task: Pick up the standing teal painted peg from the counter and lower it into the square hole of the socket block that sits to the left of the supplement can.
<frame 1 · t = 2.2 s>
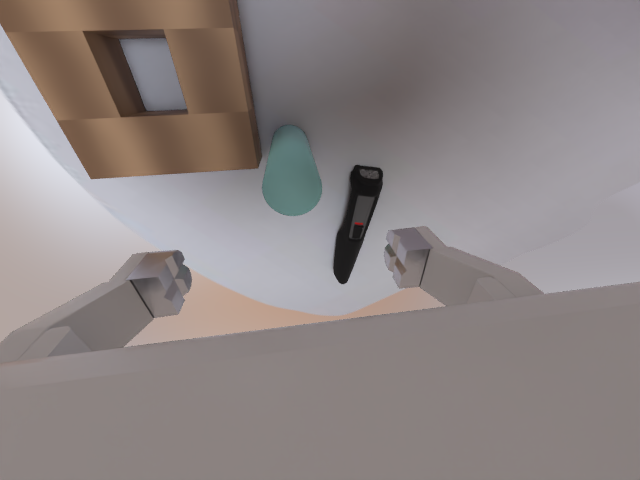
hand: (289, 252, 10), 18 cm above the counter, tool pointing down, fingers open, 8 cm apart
socket block: (164, 76, 20), on the counter
electric trimmer: (352, 222, 31), on the counter
peg: (290, 144, 25), on the counter
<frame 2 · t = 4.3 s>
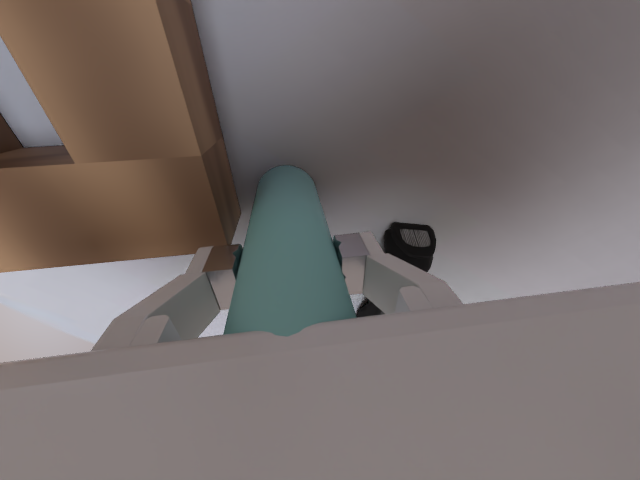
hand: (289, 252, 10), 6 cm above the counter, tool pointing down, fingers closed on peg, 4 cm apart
socket block: (45, 85, 11), on the counter
electric trimmer: (380, 293, 22), on the counter
peg: (287, 194, 15), on the counter, touching gripper
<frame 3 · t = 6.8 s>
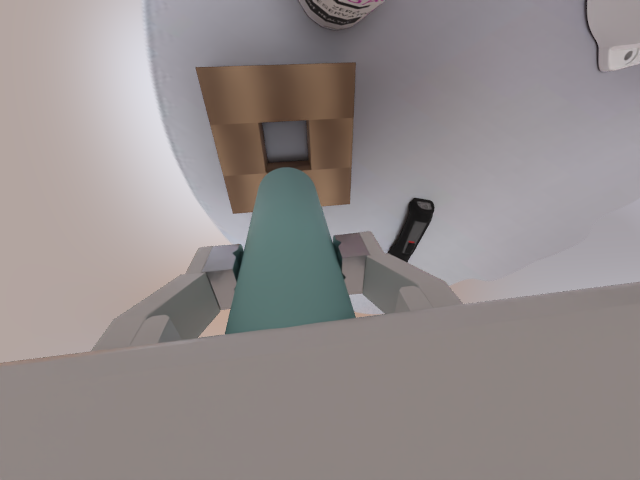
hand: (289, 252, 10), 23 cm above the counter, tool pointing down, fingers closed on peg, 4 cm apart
socket block: (286, 140, 28), on the counter
electric trimmer: (402, 239, 39), on the counter
peg: (287, 196, 15), point 16 cm above the counter, touching gripper
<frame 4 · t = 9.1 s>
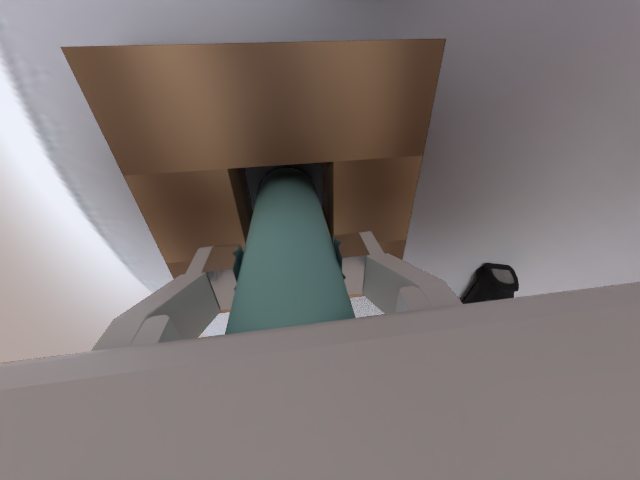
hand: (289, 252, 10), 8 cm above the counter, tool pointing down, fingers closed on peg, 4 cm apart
socket block: (286, 185, 16), on the counter
electric trimmer: (456, 312, 27), on the counter
peg: (287, 196, 15), point 2 cm above the counter, touching gripper
when the fingers open (8 cm above the counter, at t = 9.6 s): peg drops 1 cm, resting in socket block.
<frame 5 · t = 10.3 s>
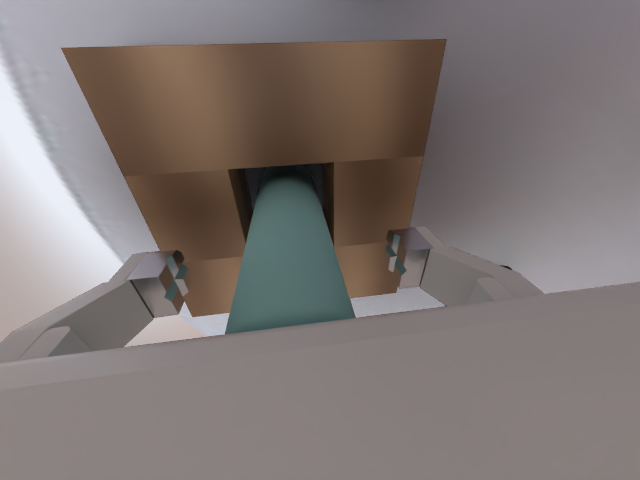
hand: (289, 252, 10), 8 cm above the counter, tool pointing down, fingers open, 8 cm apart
socket block: (286, 186, 16), on the counter
peg: (287, 187, 16), resting in socket block
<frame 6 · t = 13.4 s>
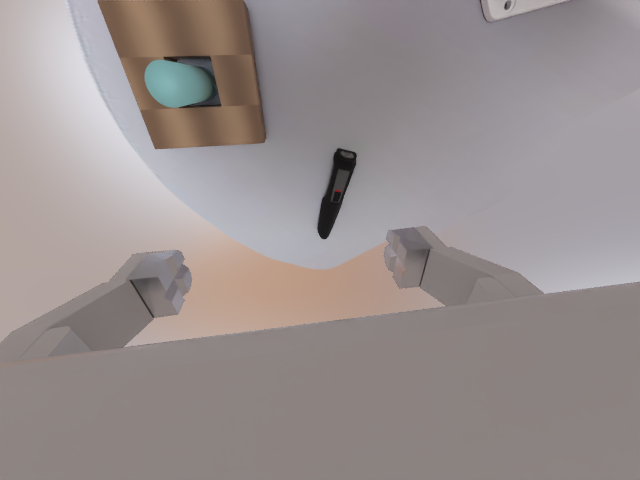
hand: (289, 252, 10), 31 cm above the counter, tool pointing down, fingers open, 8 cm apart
socket block: (203, 82, 31), on the counter
electric trimmer: (334, 192, 43), on the counter
peg: (204, 84, 31), resting in socket block
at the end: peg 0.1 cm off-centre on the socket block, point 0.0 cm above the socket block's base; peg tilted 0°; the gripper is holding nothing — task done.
